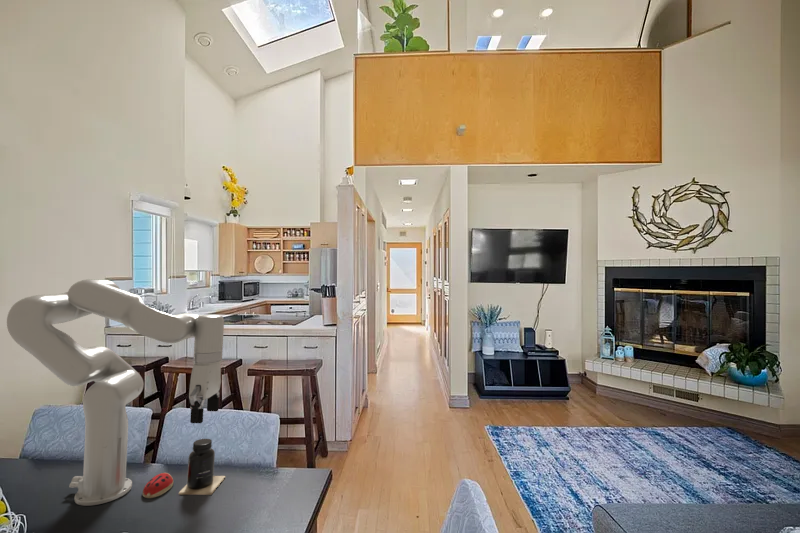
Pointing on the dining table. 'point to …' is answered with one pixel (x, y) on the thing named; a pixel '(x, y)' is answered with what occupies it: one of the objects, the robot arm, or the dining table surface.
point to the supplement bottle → (201, 464)
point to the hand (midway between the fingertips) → (204, 416)
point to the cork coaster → (203, 491)
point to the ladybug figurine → (158, 485)
